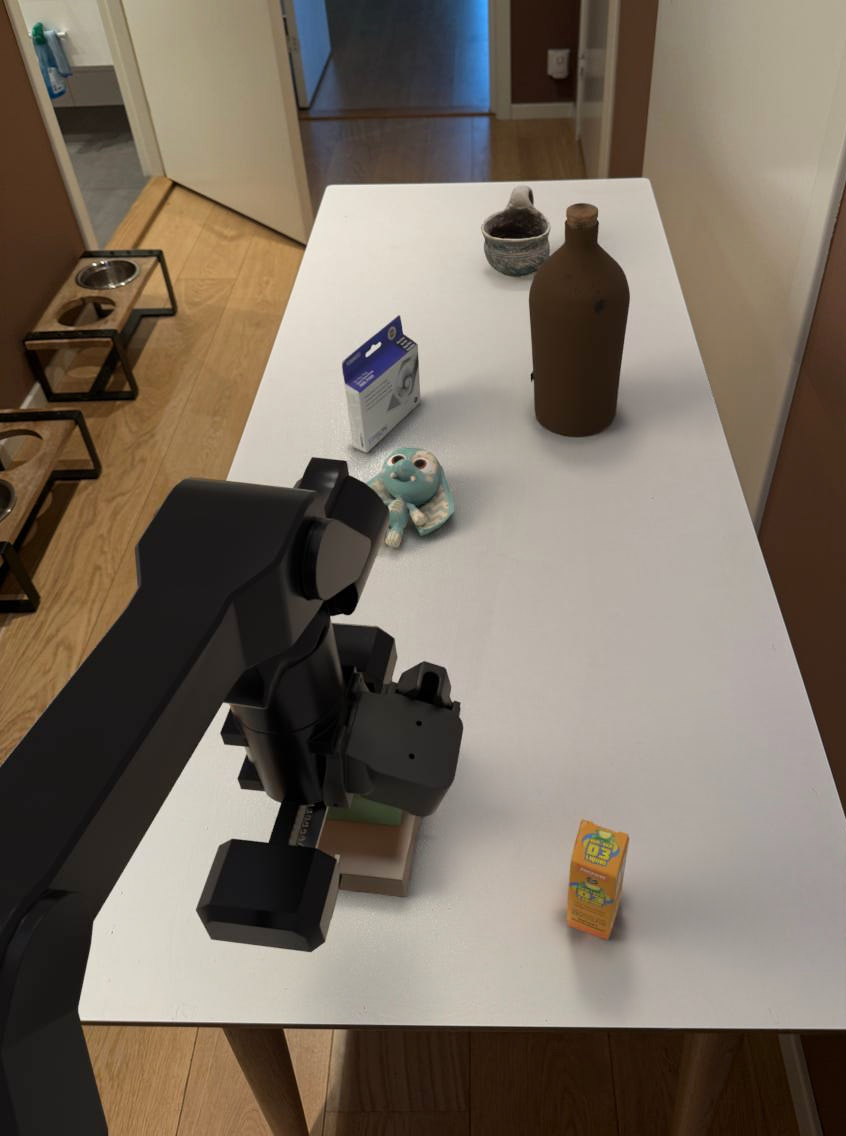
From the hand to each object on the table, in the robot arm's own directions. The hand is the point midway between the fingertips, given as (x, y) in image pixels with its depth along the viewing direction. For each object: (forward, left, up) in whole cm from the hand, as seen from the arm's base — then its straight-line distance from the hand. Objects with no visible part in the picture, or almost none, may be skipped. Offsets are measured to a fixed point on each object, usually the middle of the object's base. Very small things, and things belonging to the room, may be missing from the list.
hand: (330, 843), depth 58 cm
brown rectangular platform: (+5, +8, -13) cm, 16 cm away
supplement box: (+14, -9, -13) cm, 21 cm away
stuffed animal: (+27, +34, -13) cm, 45 cm away
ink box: (+34, +48, -13) cm, 60 cm away
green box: (+5, +8, -10) cm, 14 cm away
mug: (+69, +68, -13) cm, 98 cm away
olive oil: (+52, +36, -13) cm, 65 cm away
